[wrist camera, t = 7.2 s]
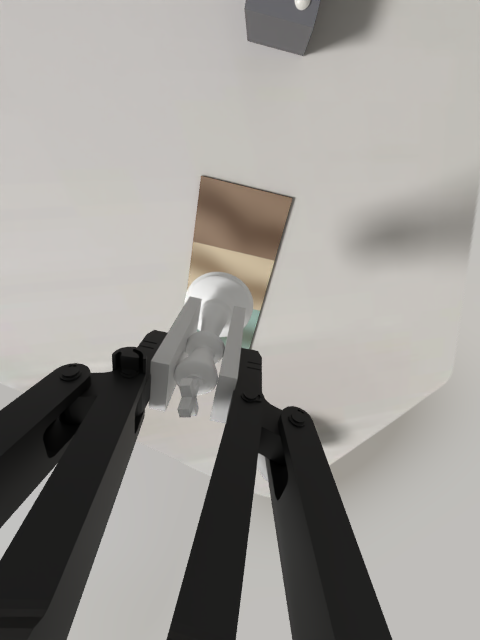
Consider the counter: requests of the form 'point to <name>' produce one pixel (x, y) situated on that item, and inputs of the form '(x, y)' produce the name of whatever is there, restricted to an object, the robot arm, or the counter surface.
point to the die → (281, 23)
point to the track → (238, 238)
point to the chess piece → (209, 335)
